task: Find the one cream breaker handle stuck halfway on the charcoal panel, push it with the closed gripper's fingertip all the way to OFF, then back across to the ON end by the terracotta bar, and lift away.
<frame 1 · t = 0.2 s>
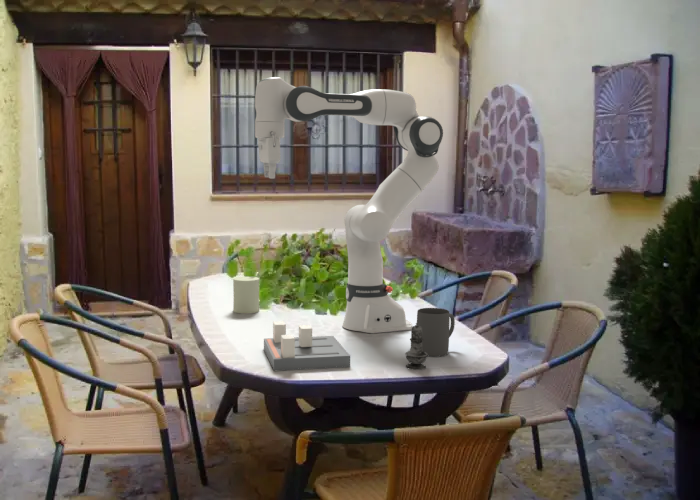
hand: (269, 178, 229), 48 cm above the table, fingers open, 8 cm apart
mug: (437, 352, 213), on the table
breaker handle: (305, 336, 204), point 6 cm above the table, slide at 6.0 cm
breaker panel: (305, 357, 204), on the table
can: (246, 311, 264), on the table
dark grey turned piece: (415, 367, 197), on the table
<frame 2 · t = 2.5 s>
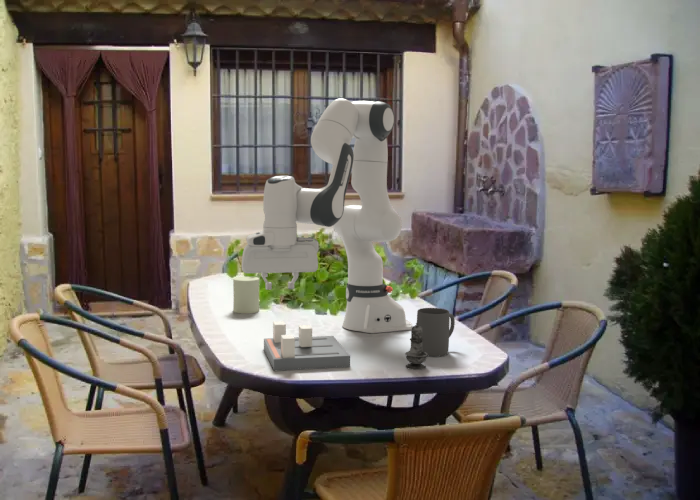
hand: (279, 289, 200), 19 cm above the table, fingers open, 5 cm apart
nothing on the table moved.
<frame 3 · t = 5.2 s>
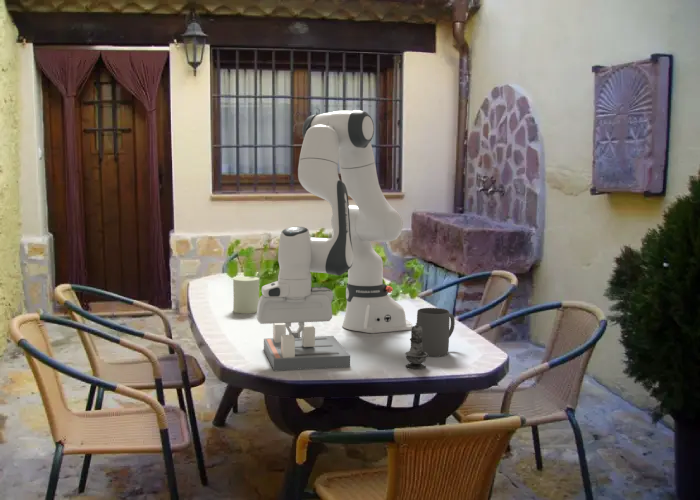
hand: (294, 338, 203), 5 cm above the table, fingers closed
breaker handle: (308, 335, 204), point 6 cm above the table, slide at 5.2 cm, touching gripper
everything else where it was.
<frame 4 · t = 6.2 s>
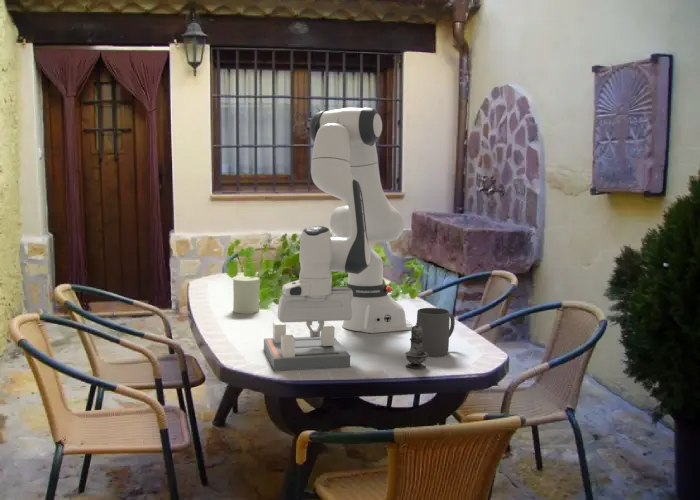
hand: (315, 337, 204), 6 cm above the table, fingers closed
breaker handle: (327, 335, 205), point 6 cm above the table, slide at -0.1 cm, touching gripper
everything else where it was.
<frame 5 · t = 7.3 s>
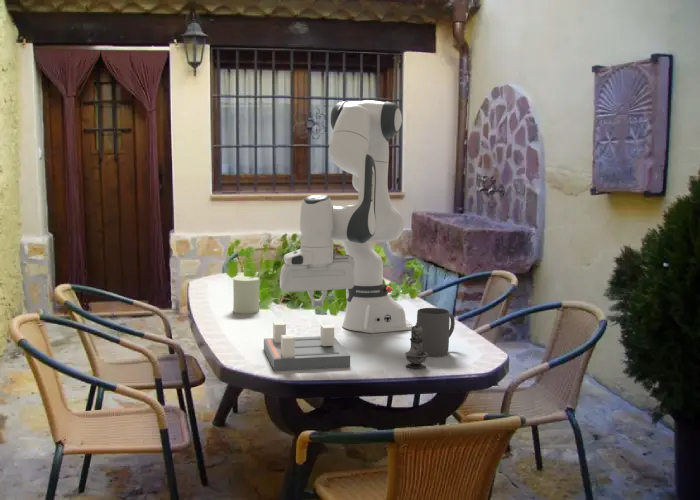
hand: (317, 306, 204), 14 cm above the table, fingers closed
breaker handle: (327, 335, 205), point 6 cm above the table, slide at -0.1 cm
everything else where it was.
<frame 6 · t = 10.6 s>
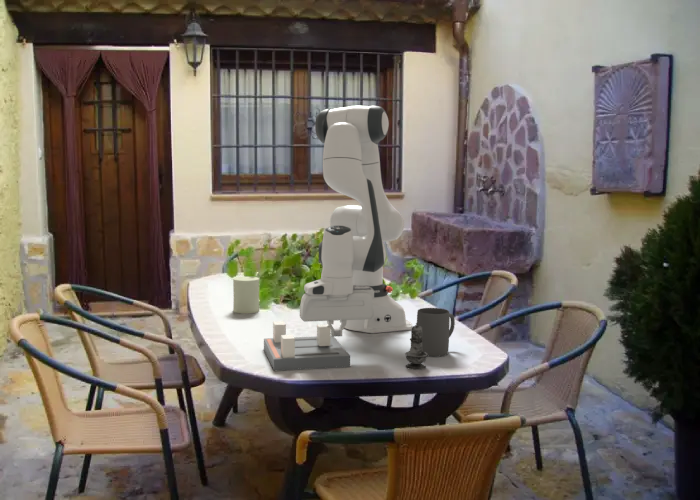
hand: (336, 336, 205), 6 cm above the table, fingers closed
breaker handle: (323, 335, 205), point 6 cm above the table, slide at 1.0 cm, touching gripper
everything else where it was.
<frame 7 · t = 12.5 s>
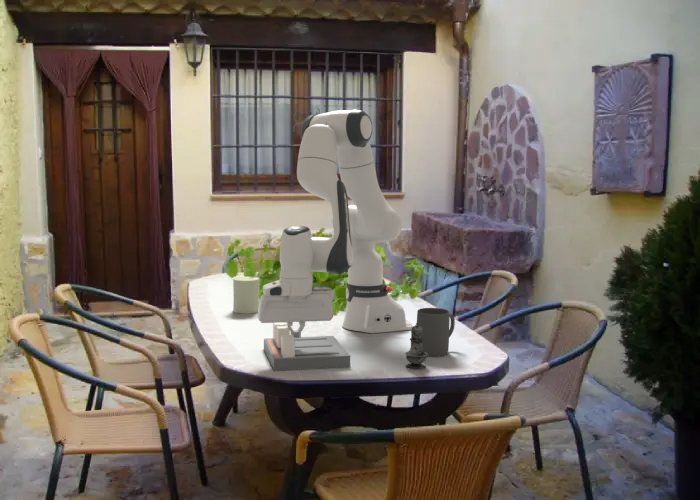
hand: (295, 337, 203), 6 cm above the table, fingers closed
breaker handle: (283, 336, 202), point 6 cm above the table, slide at 12.1 cm, touching gripper
everything else where it was.
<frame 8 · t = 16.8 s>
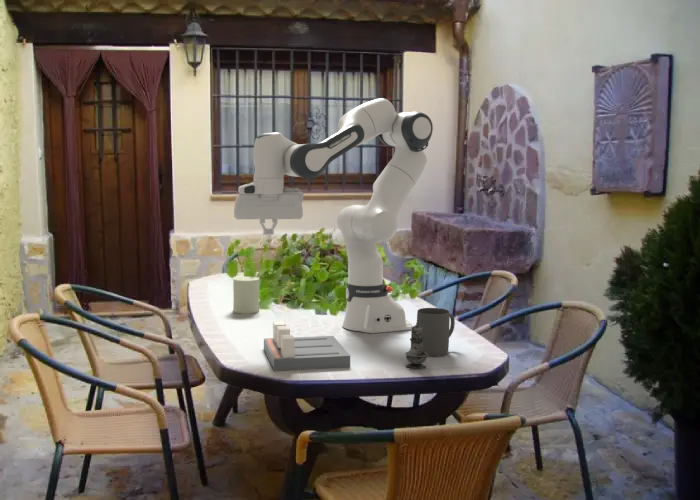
hand: (268, 234, 223), 31 cm above the table, fingers closed
breaker handle: (283, 336, 202), point 6 cm above the table, slide at 12.1 cm
everything else where it was.
at the end: breaker handle slide at 12.1 cm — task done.
